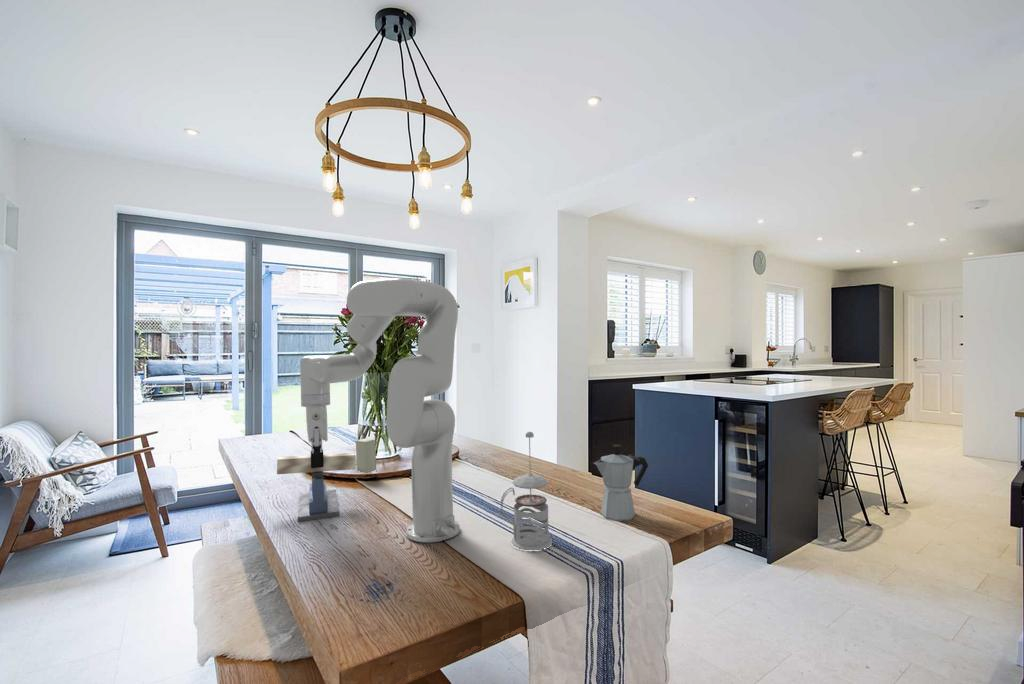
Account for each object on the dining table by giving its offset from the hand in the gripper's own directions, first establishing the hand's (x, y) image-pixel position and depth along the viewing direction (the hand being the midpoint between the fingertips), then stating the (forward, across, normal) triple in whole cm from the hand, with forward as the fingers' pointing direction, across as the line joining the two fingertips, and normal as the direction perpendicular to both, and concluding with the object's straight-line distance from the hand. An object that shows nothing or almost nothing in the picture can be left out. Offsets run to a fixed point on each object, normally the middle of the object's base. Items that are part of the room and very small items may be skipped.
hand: (317, 465), depth 134 cm
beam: (+1, 0, 0) cm, 1 cm away
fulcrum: (+12, 0, 0) cm, 12 cm away
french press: (+12, -46, -43) cm, 64 cm away
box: (+12, +23, -15) cm, 30 cm away
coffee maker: (+12, -41, -72) cm, 84 cm away
